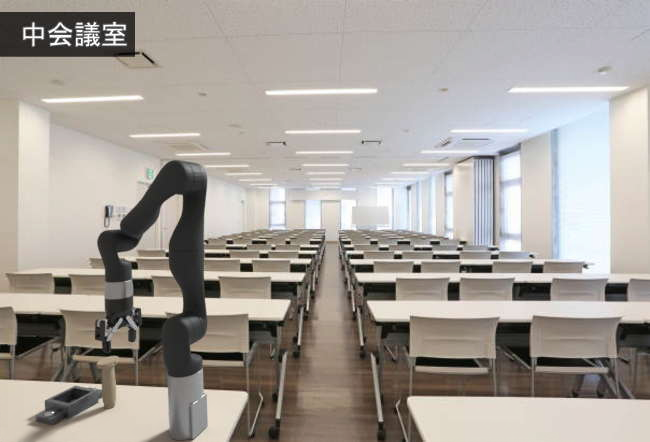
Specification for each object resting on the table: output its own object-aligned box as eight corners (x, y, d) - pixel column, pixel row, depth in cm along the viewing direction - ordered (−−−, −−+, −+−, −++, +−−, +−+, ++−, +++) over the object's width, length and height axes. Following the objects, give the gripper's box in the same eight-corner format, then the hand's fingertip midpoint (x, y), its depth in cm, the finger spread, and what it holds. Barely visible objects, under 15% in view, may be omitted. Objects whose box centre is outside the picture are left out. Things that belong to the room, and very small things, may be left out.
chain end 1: (95, 404, 111) (94, 392, 111) (56, 426, 100) (55, 413, 99) (72, 399, 114) (71, 387, 114) (32, 420, 103) (31, 407, 103)
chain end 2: (108, 396, 115) (108, 384, 115) (72, 417, 104) (72, 404, 104) (86, 391, 119) (85, 380, 119) (49, 411, 108) (48, 398, 107)
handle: (123, 401, 112) (121, 356, 112) (109, 412, 106) (107, 365, 105) (110, 400, 113) (108, 355, 112) (95, 412, 106) (92, 364, 106)
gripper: (106, 302, 97) (108, 358, 98) (147, 290, 110) (148, 339, 111) (87, 299, 99) (88, 354, 100) (129, 288, 113) (130, 336, 114)
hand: (120, 346), depth 106 cm, fingers open, 8 cm apart
